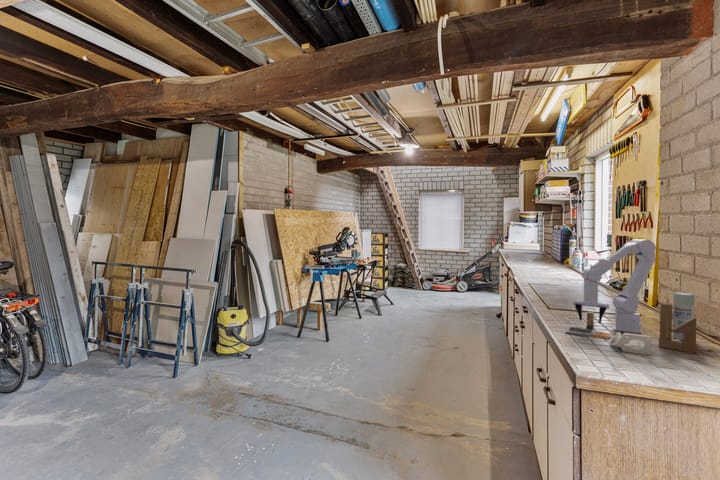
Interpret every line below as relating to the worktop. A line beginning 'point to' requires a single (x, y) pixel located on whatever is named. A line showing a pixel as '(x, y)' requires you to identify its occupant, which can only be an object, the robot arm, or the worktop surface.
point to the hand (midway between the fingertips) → (590, 321)
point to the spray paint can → (682, 310)
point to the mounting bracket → (632, 342)
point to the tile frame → (576, 332)
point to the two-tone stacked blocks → (590, 320)
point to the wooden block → (685, 328)
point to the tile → (602, 335)
